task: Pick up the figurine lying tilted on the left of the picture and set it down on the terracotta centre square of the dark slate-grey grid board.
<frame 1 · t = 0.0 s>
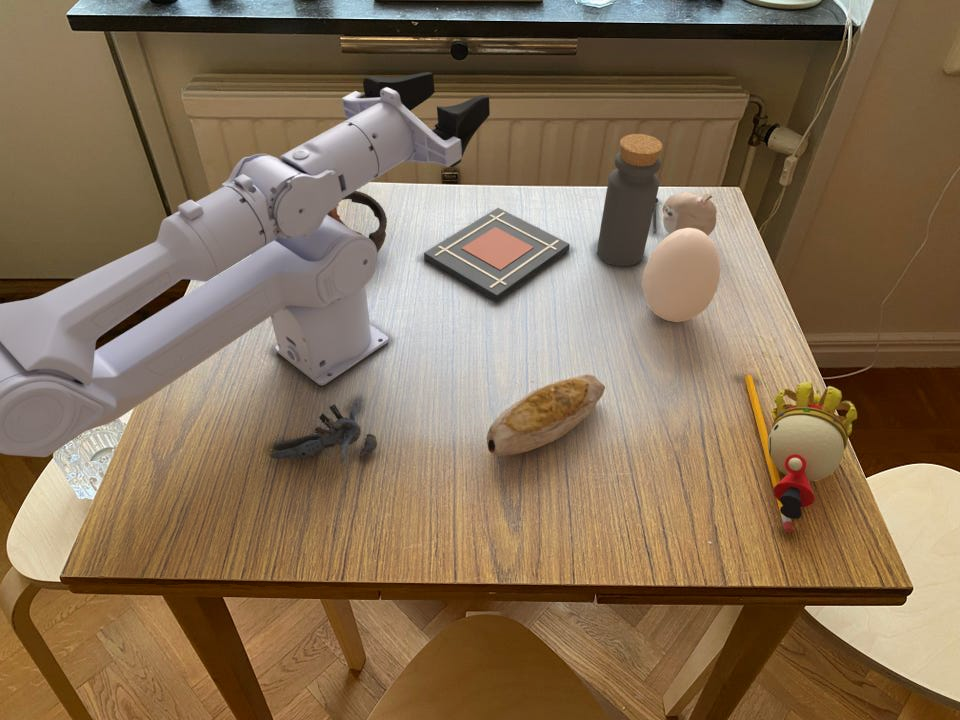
hand: (458, 93, 72), 22 cm above the table, tool horizontal, fingers open, 7 cm apart
bottle: (619, 254, 90), on the table
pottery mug: (339, 251, 89), on the table
screw: (658, 217, 95), on the table
toy: (792, 510, 59), point 3 cm above the table
egg: (670, 316, 81), on the table
pencil: (765, 449, 67), on the table
beige apple: (683, 236, 92), on the table
board: (497, 254, 89), on the table
figurine: (310, 414, 64), point 4 cm above the table
tan oval piece: (546, 429, 69), on the table
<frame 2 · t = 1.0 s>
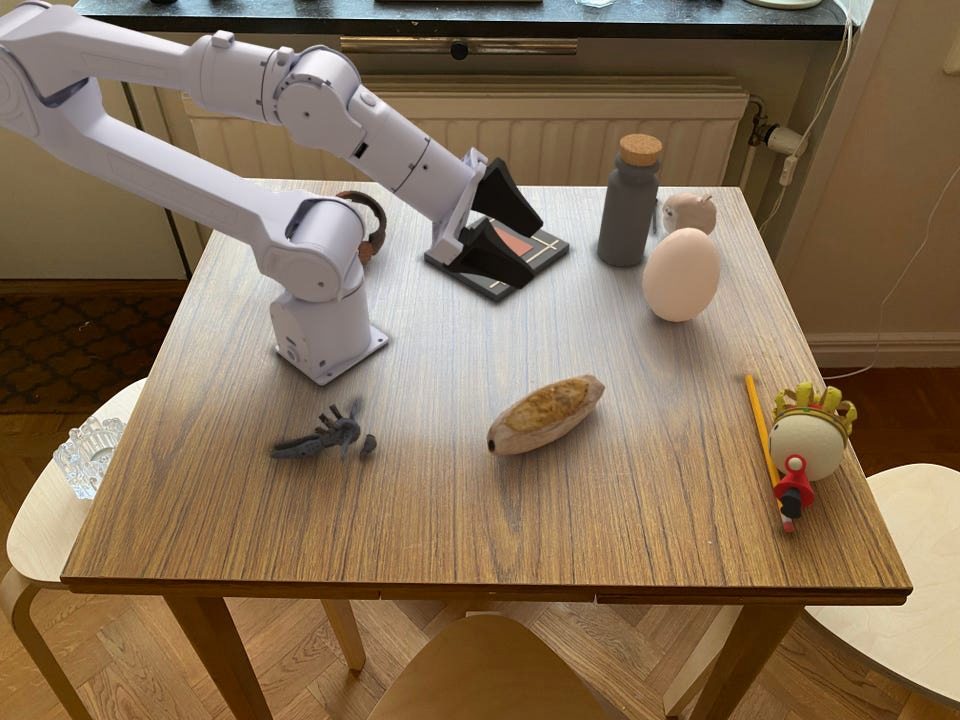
hand: (532, 254, 65), 14 cm above the table, tool tilted 55°, fingers open, 7 cm apart
nothing on the table moved.
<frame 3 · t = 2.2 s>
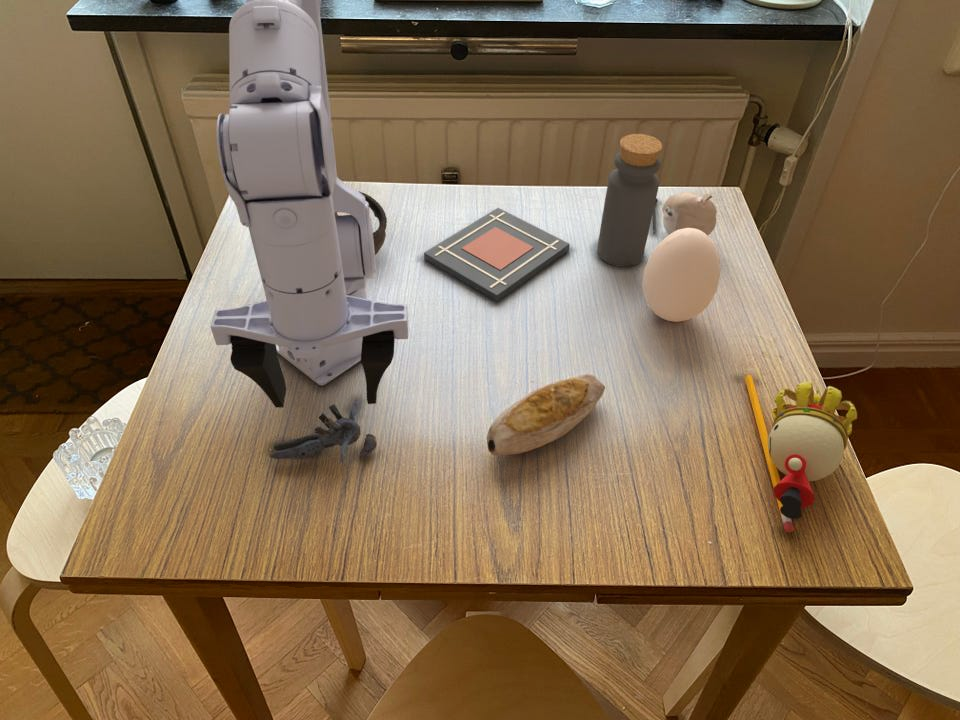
hand: (326, 397, 60), 8 cm above the table, tool pointing down, fingers open, 7 cm apart
nothing on the table moved.
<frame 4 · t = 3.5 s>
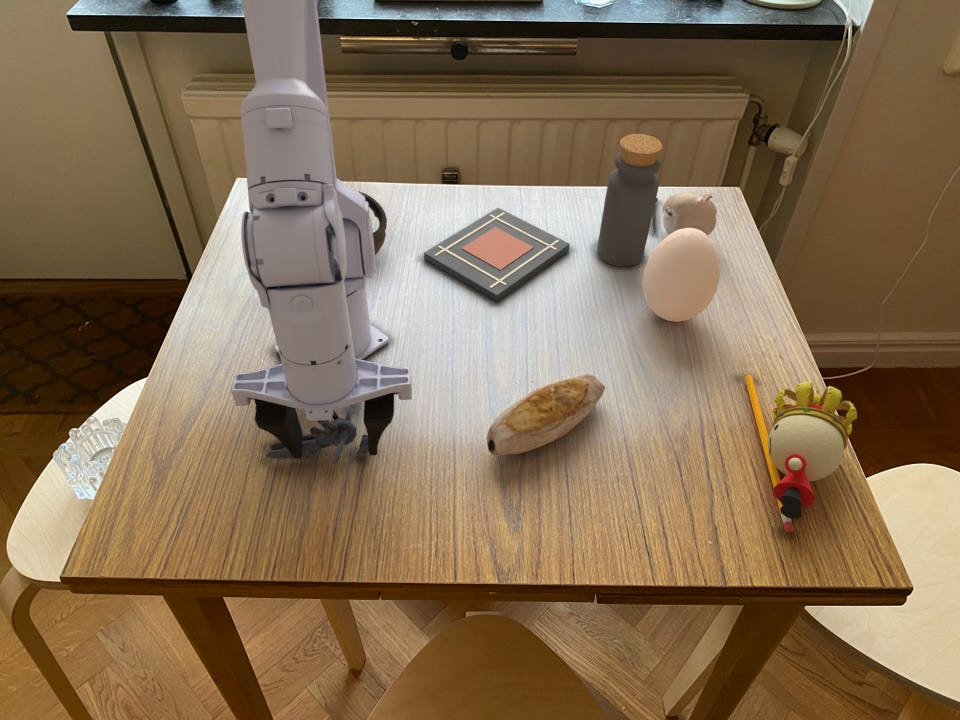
hand: (336, 448, 65), 1 cm above the table, tool pointing down, fingers closed on figurine, 6 cm apart
figurine: (306, 414, 64), point 4 cm above the table, touching gripper
everything else where it was.
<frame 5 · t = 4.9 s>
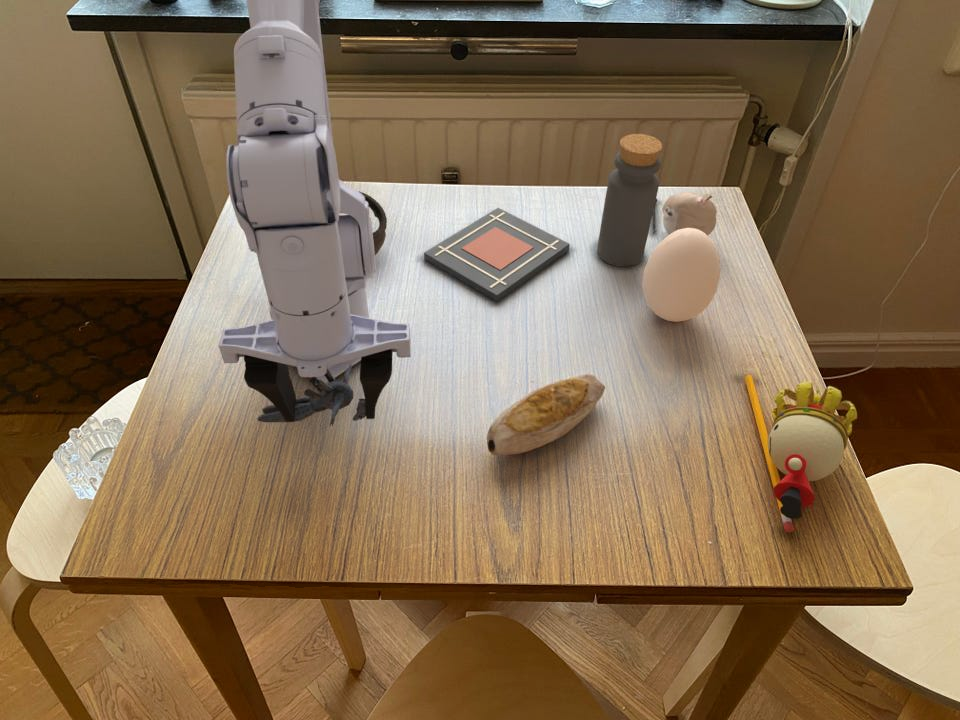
hand: (331, 411, 61), 6 cm above the table, tool pointing down, fingers closed on figurine, 6 cm apart
figurine: (300, 375, 61), point 9 cm above the table, touching gripper
everything else where it was.
when the fingers open (3 cm above the table, at t = 10.1 s): figurine stays where it is, resting on board.
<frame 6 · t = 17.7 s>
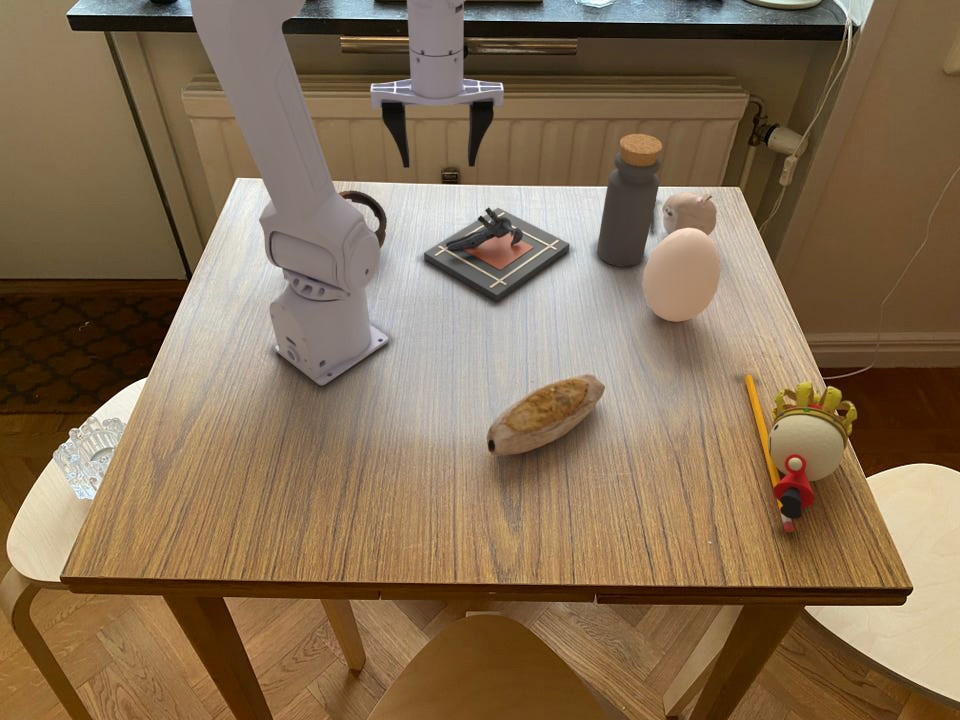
hand: (438, 162, 84), 10 cm above the table, tool pointing down, fingers open, 7 cm apart
figurine: (475, 213, 86), point 5 cm above the table, touching board
everything else where it was.
at the end: the gripper is holding nothing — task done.
